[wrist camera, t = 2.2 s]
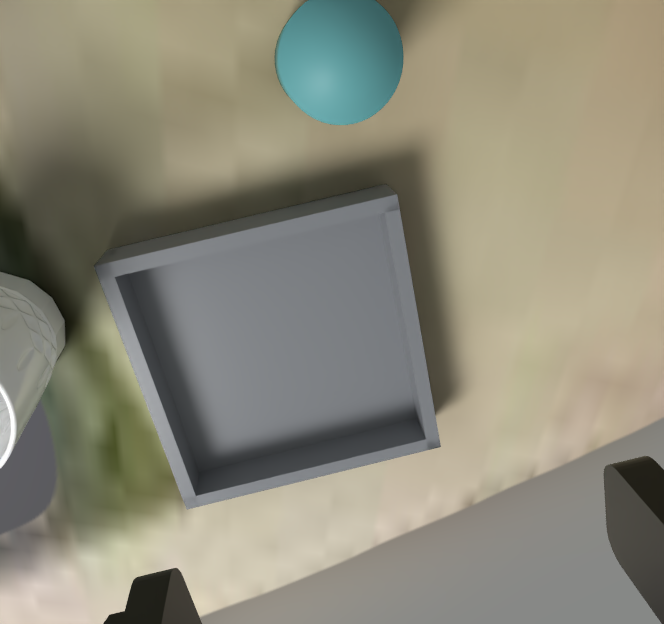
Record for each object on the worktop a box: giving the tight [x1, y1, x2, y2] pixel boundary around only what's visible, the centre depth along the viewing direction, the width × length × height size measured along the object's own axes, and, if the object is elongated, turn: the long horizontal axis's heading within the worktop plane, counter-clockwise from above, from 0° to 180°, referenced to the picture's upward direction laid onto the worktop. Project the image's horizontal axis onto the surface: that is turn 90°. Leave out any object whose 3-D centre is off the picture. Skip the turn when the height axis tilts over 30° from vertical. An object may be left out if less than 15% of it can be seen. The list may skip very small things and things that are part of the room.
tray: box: [94, 184, 441, 509], centre depth 37 cm, size 16×16×3 cm
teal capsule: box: [275, 0, 403, 125], centre depth 29 cm, size 5×5×7 cm
